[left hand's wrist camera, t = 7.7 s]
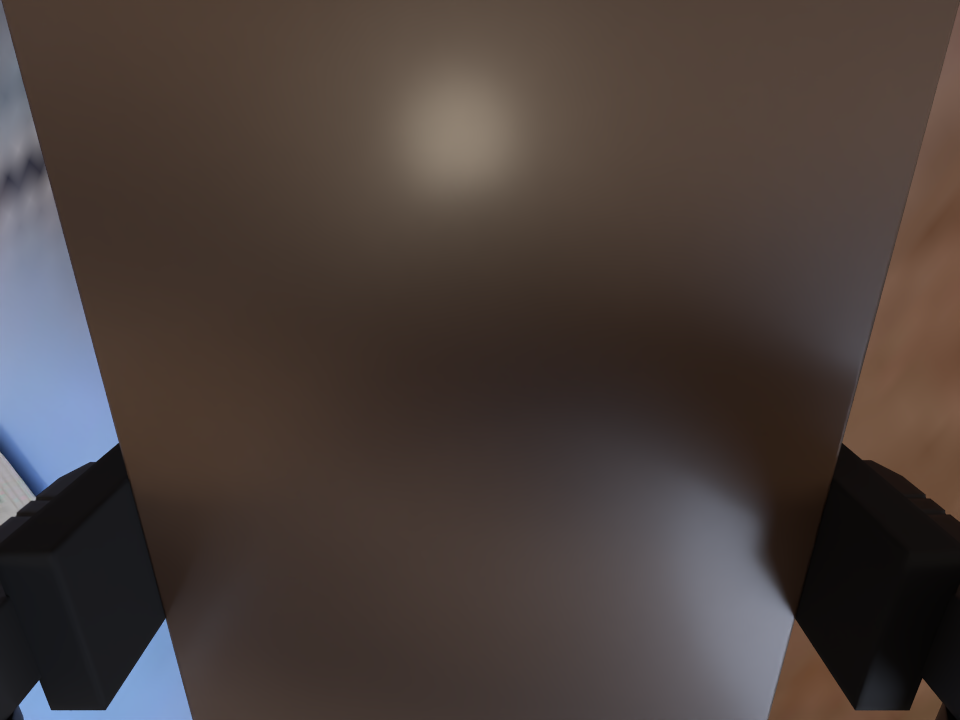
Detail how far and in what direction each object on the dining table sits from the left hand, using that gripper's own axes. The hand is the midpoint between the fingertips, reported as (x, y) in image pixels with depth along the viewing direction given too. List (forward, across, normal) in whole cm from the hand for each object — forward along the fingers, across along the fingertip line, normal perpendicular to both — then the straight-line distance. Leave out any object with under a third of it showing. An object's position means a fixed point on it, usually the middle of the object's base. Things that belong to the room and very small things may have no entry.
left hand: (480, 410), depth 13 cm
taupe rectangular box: (+4, 0, +4) cm, 6 cm away
